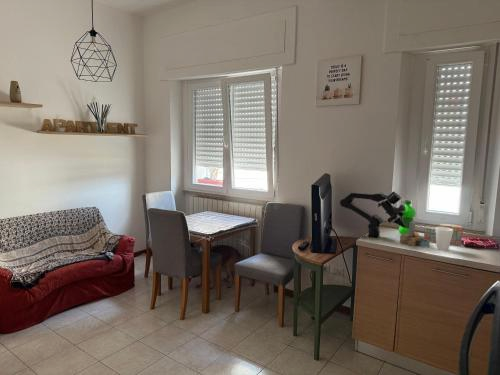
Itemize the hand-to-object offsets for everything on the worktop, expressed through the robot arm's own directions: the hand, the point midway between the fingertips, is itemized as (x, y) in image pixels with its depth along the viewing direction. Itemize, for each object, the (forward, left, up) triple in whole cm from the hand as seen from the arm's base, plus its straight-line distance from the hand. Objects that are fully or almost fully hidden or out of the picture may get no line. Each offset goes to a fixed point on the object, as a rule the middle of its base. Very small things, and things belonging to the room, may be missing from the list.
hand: (405, 227), depth 228 cm
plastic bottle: (-4, +19, -10) cm, 22 cm away
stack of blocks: (+19, +18, -10) cm, 28 cm away
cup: (+12, 0, -10) cm, 16 cm away
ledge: (+5, 0, -10) cm, 11 cm away
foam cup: (+23, 0, -10) cm, 25 cm away
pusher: (+4, 0, -5) cm, 7 cm away
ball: (+7, 0, -4) cm, 8 cm away
